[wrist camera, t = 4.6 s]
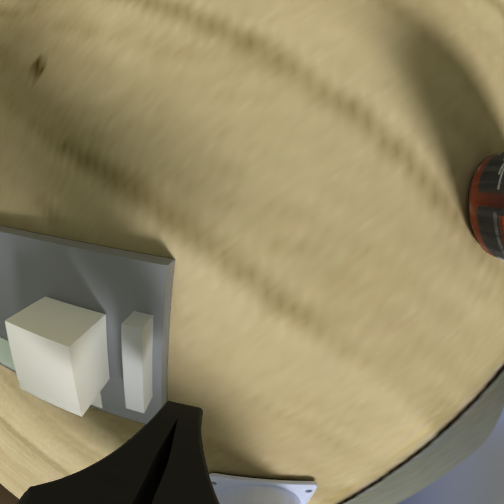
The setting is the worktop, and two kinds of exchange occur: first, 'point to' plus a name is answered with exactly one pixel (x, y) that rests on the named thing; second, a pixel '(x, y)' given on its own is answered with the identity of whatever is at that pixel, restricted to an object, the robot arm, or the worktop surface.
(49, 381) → the off-white rectangular block
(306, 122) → the worktop surface
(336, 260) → the worktop surface
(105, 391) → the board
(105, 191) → the worktop surface
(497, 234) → the supplement bottle
